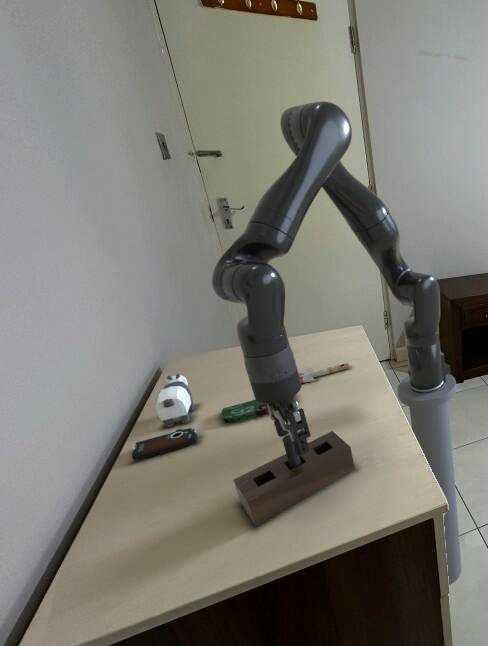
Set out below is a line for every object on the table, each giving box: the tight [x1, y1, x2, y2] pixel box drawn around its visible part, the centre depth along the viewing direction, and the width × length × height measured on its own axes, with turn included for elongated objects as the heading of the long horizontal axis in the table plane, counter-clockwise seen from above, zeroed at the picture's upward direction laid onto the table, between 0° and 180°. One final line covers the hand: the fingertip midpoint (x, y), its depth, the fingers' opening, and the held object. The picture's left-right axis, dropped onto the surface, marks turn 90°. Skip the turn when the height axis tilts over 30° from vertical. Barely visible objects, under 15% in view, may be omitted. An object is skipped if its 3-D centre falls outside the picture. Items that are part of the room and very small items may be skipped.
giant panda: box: [155, 373, 196, 428], centre depth 102 cm, size 15×6×10 cm, turn 29°
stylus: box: [281, 434, 301, 470], centre depth 78 cm, size 2×2×12 cm
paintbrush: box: [298, 362, 350, 384], centre depth 119 cm, size 4×3×20 cm
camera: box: [131, 427, 198, 461], centre depth 91 cm, size 6×3×11 cm
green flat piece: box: [221, 397, 295, 424], centre depth 104 cm, size 16×2×10 cm
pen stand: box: [232, 430, 356, 528], centre depth 79 cm, size 8×19×6 cm, turn 139°
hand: (293, 443), depth 77 cm, fingers open, 8 cm apart
